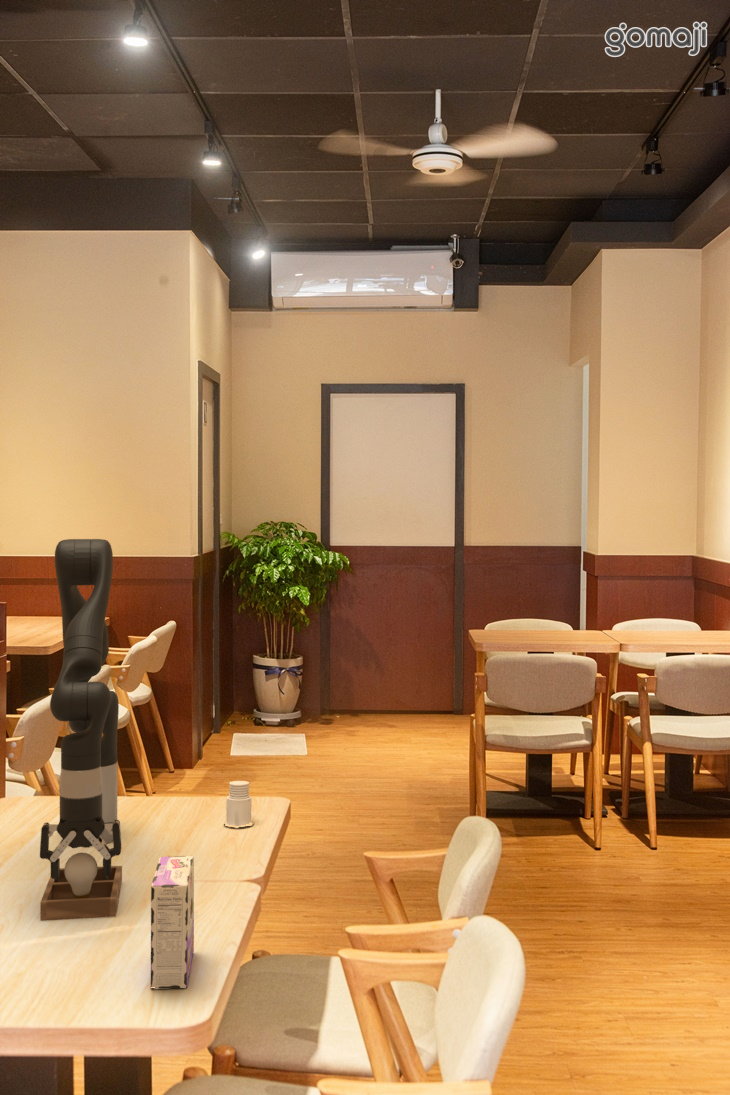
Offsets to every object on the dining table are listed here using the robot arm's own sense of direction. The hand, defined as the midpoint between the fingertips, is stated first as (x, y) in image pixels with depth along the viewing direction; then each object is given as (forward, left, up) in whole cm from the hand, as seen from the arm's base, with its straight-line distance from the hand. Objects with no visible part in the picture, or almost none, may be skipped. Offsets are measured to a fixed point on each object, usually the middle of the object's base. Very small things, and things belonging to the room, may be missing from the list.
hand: (81, 879), depth 194 cm
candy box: (+27, +17, -6) cm, 33 cm away
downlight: (-51, +31, -6) cm, 60 cm away
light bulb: (0, 0, -5) cm, 5 cm away
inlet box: (-4, 0, -6) cm, 7 cm away
